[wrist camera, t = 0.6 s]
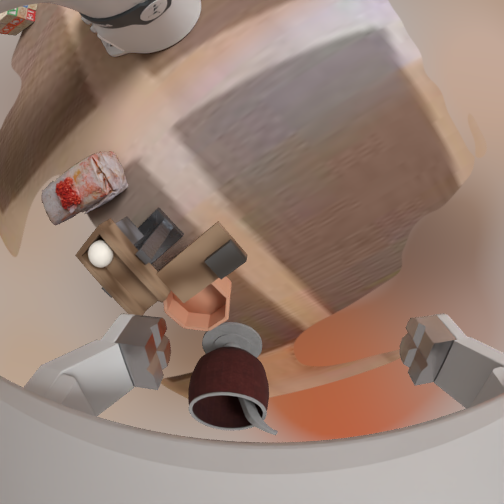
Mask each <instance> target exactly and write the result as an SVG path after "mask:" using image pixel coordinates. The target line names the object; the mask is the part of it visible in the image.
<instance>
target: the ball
mask: <svg viewBox="0 0 504 504" xmlns="http://www.w3.org/2000/svg"><path fill="white" fill-rule="evenodd" d="M88 257H89V260H90V262H91V263H92V264H93V265H94V266H96V267H99V268H102V267H106V266H107V265H109V264H110V263H111V261H112V259H113V250H112V248H111V247H110V246H109V245H108V244H107V243H106V241H103V240H98V241H96V242H94V243H93V244H92V245H91V246H90V248H89V250H88Z"/></svg>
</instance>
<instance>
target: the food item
mask: <svg viewBox="0 0 504 504" xmlns="http://www.w3.org/2000/svg"><path fill="white" fill-rule="evenodd" d="M127 187H128V183H127V181H126V177H125V175H124V169H123V167H122V165H121V164H120V163H119V160H118V158H117V156H116V155H115V153H114V152H111V151H109V152H103V153H102V152H99V153H96V154H93V155H91V156H89V157H87V158H85V159H84V160H82V161H80V162H79V163H77V164H76V165H74V166H73V167H71V168H70V169H68V170H67V171H66V172H65V173H64V174H62V175H61V176H60V177H59V178H57V180H56V181H52V182H51V183H50V184H49V185H48V186H47V187H46V188H45V189H44V190H42V203H43V204H44V207H45V210H46V213H47V215H48V217H49V219H50V221H51V222H52V223H53V224H54V225H57V224H60V223H62V222H64V221H66V220H68V219H70V218H72V217H74V216H75V215H76V214H78V213H79V212H84V211H87V212H86V213H88V212H89V211H91V210H93V209H95V208H99V207H101V206H102V205H104V204H105V203H107V202H108V201H110V200H112V199H113V198H114V197H115V196H116V195H118V194H120V193H121V192H123V191H124V190H125V189H126V188H127ZM86 213H85V214H86Z"/></svg>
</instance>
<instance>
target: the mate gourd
mask: <svg viewBox="0 0 504 504" xmlns="http://www.w3.org/2000/svg"><path fill="white" fill-rule="evenodd" d="M202 346H203V349H204V351H205V353H206V354H205V355H204V356H203V357H201V358H200V360H199V361H198V363H197V365H196V367H195V369H194V371H193V374H192V376H191V380H190V385H189V412H190V414H191V415H192V417H193V418H194V419H196V420H197V421H198V422H200V423H202V424H204V425H206V426H209V427H212V428H216V429H221V430H243V429H248V428H252V427H254V426H255V427H257V428H259V429H261V430H263V431H265V432H268V433H271V434H274V435H276V434H277V431H276V430H273V429H272V428H270V427H269V426H268V425H267V424H266V423H265V422H264V421H263V420H264V419H265V417H266V413H267V412H266V411H267V407H268V399H269V386H268V381H267V377H266V373H265V370H264V367H263V365H262V363H261V362H260V361H259V360H258V359H257V357H258V356H259V354H260V353H261V350H262V341H261V338H260V336H259V334H258V333H257V332H256V331H255V330H254V329H252V328H251V327H249V326H247V325H244V324H241V323H235V322H226V323H222V324H220V325H218V326H217V327H215V328H214V329H212V330H210V331H206V333H205V334H204V337H203V342H202Z"/></svg>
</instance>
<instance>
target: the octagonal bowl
mask: <svg viewBox="0 0 504 504" xmlns="http://www.w3.org/2000/svg"><path fill="white" fill-rule="evenodd" d="M231 285H232V283H231V281H230V280H229V279H228V278H227V277H226V276H225V277H224V278H223V279H220V278H218V279H217V280H215V281H214V282H212V283H211V284H210V285H208V286H207V287H206V288H204V289H203V290H201V291H200V292H199V293H197V294H196V295H195V296H193V297H192V298H190V299H189V300H188V301H186V302H185V303H183V302H182V301H181V300H180V299H179V298H178V297H177V296H176V295H175V294H174V293H173V292H172V291H171V292H170V293H169V295H168V297H167V298H166V300H165V301H163V302H164V311H165V313H166V314H168V316H170V317H171V318H172V319H173V320H174V321H175V322H177V323H178V324H179V325H180V326H181V327H183V328H185V329H194V330H202V331H210V330H212V329H214V328H215V327H217V326H218V325H220V324H222V323H223V322H225V321H226V320H228V319H229V309H230V298H231Z"/></svg>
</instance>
